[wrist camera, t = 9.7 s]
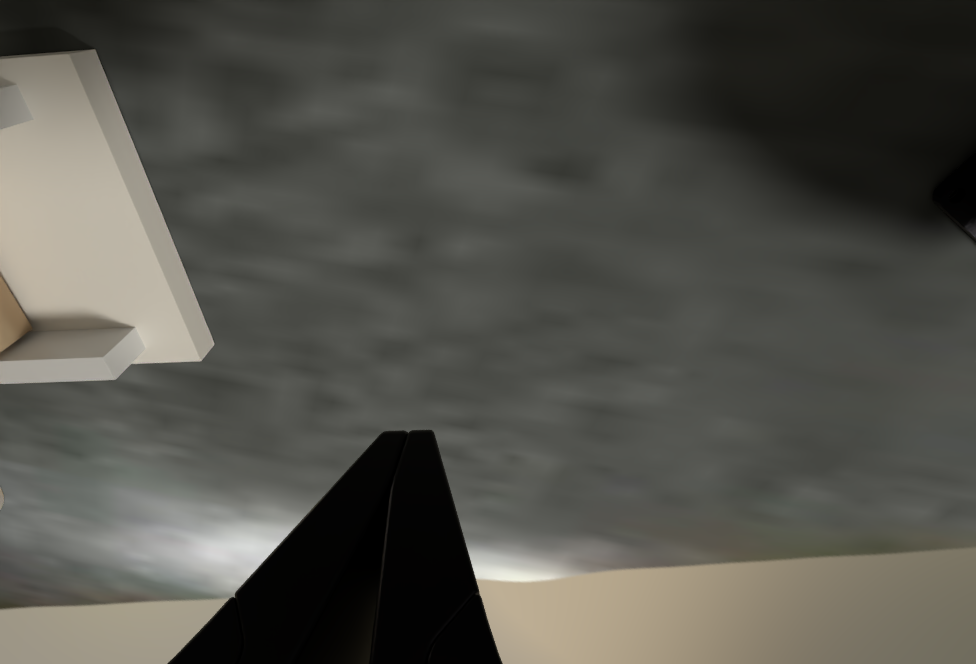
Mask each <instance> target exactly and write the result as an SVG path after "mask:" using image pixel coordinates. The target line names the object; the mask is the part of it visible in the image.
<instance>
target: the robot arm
mask: <svg viewBox="0 0 976 664" xmlns="http://www.w3.org/2000/svg"><path fill="white" fill-rule="evenodd" d="M956 189H958V190H957V193H956V194H955V195H954V196H953V197H952V198H950V199H949V195H950V194H951V193H952V192H953V191H954V190H956ZM933 201H934V203H935V204H936V205H937V206H938V207H939V208H940V209H941V210H942V211H943V212H945V213H946V214H947V215H948V216H949V217H950V218H951V219H952V220H953V221H954V222H955V223H957V224H958V225H959V226H960V227H961V228H962V229H963V230H964V231H965V232H966V233H967V234H969V235H970V236H971V237H972V238H973V239H974V240H975V241H976V153H975V154H974V155H973V156H971V157H970V158H969V159H968V160H967V161H966V162H964V163H963V164H962V165H961V166H960V167H959V168H958V169H956V170H955V171H954V172H953V173H952V174H951V175H949V176H948V177H947V178H946V179H945V180H944V181H942V182H941V183H940V184H939V185H938V186H937V188H936V189H935V191H934V193H933ZM168 664H502V661H501V658H500V656H499V653H498V650H497V647H496V644H495V641H494V638H493V635H492V632H491V629H490V626H489V623H488V620H487V616H486V612H485V609H484V605H483V602H482V598H481V596H480V594H479V589H478V585H477V582H476V578H475V575H474V571H473V568H472V564H471V561H470V557H469V554H468V550H467V547H466V543H465V540H464V536H463V533H462V529H461V526H460V522H459V519H458V515H457V511H456V508H455V504H454V501H453V497H452V494H451V490H450V487H449V483H448V480H447V476H446V473H445V469H444V466H443V462H442V459H441V455H440V452H439V448H438V445H437V441H436V438H435V434H434V432H433V431H432V430H412V431H410V432H409V433H408V432H406V431H385V432H383V433H381V434H380V435H379V436H378V437H377V439H376V440H375V441H374V442H373V443H372V444H371V445H370V446H369V447H368V448H367V449H366V451H365V452H364V453H363V454H362V455H361V456H360V457H359V458H358V459H357V460H356V461H355V463H354V464H353V465H352V466H351V467H350V468H349V469H348V470H347V471H346V472H345V473H344V475H343V476H342V477H341V478H340V479H339V480H338V481H337V482H336V483H335V484H334V485H333V487H332V488H331V489H330V490H329V491H328V492H327V493H326V494H325V495H324V496H323V497H322V499H321V500H320V501H319V502H318V503H317V504H316V505H315V506H314V507H313V508H312V509H311V511H310V512H309V513H308V514H307V515H306V516H305V517H304V518H303V519H302V520H301V521H300V523H299V524H298V525H297V526H296V527H295V528H294V529H293V530H292V531H291V532H290V533H289V535H288V536H287V537H286V538H285V539H284V540H283V541H282V542H281V543H280V544H279V545H278V547H277V548H276V549H275V550H274V551H273V552H272V553H271V554H270V555H269V556H268V557H267V559H266V560H265V561H264V562H263V563H262V564H261V565H260V566H259V567H258V568H257V569H256V571H255V572H254V573H253V574H252V575H251V576H250V577H249V578H248V579H247V580H246V581H245V583H244V584H243V585H242V586H241V587H240V588H239V589H238V590H237V591H236V593H235V598H234V597H231V598H230V599H229V600H228V601H227V602H226V603H225V604H224V605H223V606H222V608H220V610H219V611H218V612H217V613H216V614H215V615H214V616H213V617H212V618H211V619H210V621H208V623H207V624H206V625H205V626H204V627H203V628H202V629H201V630H200V631H199V632H198V633H197V634H196V635H195V636H194V637H193V638H192V639H191V640H190V641H189V643H187V645H186V646H185V647H184V648H183V649H182V650H181V651H180V652H179V653H178V654H177V655H176V656H175V657H174V658H173V659H172V660H171V661H170V662H169V663H168Z"/></svg>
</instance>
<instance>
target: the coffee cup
mask: <svg viewBox="0 0 976 664" xmlns="http://www.w3.org/2000/svg"><path fill="white" fill-rule="evenodd" d="M3 503H4V495H3V492H2V489H1V487H0V510H1V509H2V506H3Z"/></svg>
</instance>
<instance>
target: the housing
mask: <svg viewBox="0 0 976 664" xmlns="http://www.w3.org/2000/svg"><path fill="white" fill-rule="evenodd" d="M0 276H1V277H2V279H3V280H4V282H5V284H6V285H7V287H8V289H9V290H10V292H11V294H12V295H13V297H14V299H15V300H16V302H17V303H18V305H19V307H20V308H21V310H22V312H23V313H24V315H25V317H26V318H27V320H28V322H29V323H30V325H31V326H32V328H33V329H32V330H30V331H29V332H28V333H26V334H25V335H24V336H22V337H21V338H19V339H18V340H17V341H15V342H14V343H13V344H11V345H10V346H9V347H7V348H6V349H5V350H3V351H2V352H0V384H12V383H40V382H67V381H95V380H116V379H117V378H118V377H119V376H120V375H121V374H122V372H123V371H124V370H125V369H126V368H127V367H128V366H129V365H130V364H139V363H166V362H192V361H202V359H203V358H204V357H205V356H206V354H207V353H208V352H209V351H210V350H211V348H212V347H213V346H214V345H215V344H214V341H213V339H212V336H211V334H210V331H209V329H208V326H207V324H206V322H205V319H204V317H203V314H202V312H201V309H200V307H199V304H198V302H197V299H196V297H195V294H194V292H193V289H192V287H191V285H190V282H189V280H188V277H187V275H186V272H185V270H184V267H183V265H182V262H181V260H180V257H179V255H178V252H177V250H176V248H175V245H174V243H173V240H172V238H171V235H170V233H169V230H168V228H167V225H166V223H165V220H164V218H163V215H162V213H161V211H160V208H159V206H158V203H157V201H156V198H155V196H154V193H153V191H152V188H151V186H150V183H149V181H148V178H147V176H146V174H145V171H144V169H143V166H142V164H141V161H140V159H139V156H138V154H137V151H136V149H135V146H134V144H133V141H132V139H131V137H130V134H129V132H128V129H127V127H126V124H125V122H124V119H123V117H122V114H121V112H120V109H119V107H118V104H117V102H116V100H115V97H114V95H113V92H112V90H111V87H110V85H109V82H108V80H107V77H106V75H105V72H104V70H103V67H102V65H101V63H100V60H99V58H98V55H97V53H96V50H95V49H91V50H79V51H66V52H53V53H40V54H27V55H14V56H1V57H0Z"/></svg>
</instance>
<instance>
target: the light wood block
mask: <svg viewBox="0 0 976 664" xmlns="http://www.w3.org/2000/svg"><path fill="white" fill-rule="evenodd" d="M32 329H33V328H32V326H31V325H30V323H29V322H28V320H27V318H26V317H25V315H24V313H23V312H22V310H21V308H20V307H19V305H18V303H17V302H16V300H15V299H14V297H13V295H12V294H11V292H10V290H9V289H8V287H7V285H6V284H5V282H4V280H3V279H2V277H1V276H0V352H2V351H3V350H5V349H6V348H7V347H9V346H10V345H11V344H13V343H14V342H15V341H17V340H18V339H19V338H21V337H22V336H24V335H25V334H26V333H28V332H29V331H30V330H32Z"/></svg>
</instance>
